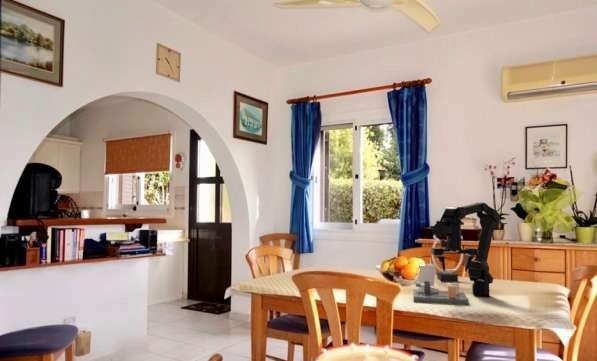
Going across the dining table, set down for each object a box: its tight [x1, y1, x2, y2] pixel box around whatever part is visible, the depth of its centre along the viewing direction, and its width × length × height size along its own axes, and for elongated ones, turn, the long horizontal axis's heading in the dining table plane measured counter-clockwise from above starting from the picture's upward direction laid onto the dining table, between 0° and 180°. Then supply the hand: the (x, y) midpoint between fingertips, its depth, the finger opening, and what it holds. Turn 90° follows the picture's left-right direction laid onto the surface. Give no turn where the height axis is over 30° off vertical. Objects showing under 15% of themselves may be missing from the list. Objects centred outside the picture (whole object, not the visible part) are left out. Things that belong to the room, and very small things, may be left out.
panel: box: [412, 281, 469, 306], centre depth 190 cm, size 22×16×6 cm
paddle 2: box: [447, 284, 456, 298], centre depth 185 cm, size 3×3×5 cm
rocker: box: [415, 281, 440, 292], centre depth 196 cm, size 10×4×1 cm, turn 75°
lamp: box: [431, 234, 464, 283], centre depth 236 cm, size 17×9×32 cm, turn 85°
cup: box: [417, 263, 437, 290], centre depth 210 cm, size 9×9×12 cm
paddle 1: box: [450, 281, 460, 294], centre depth 193 cm, size 3×3×5 cm
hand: (454, 271), depth 189 cm, fingers open, 9 cm apart
